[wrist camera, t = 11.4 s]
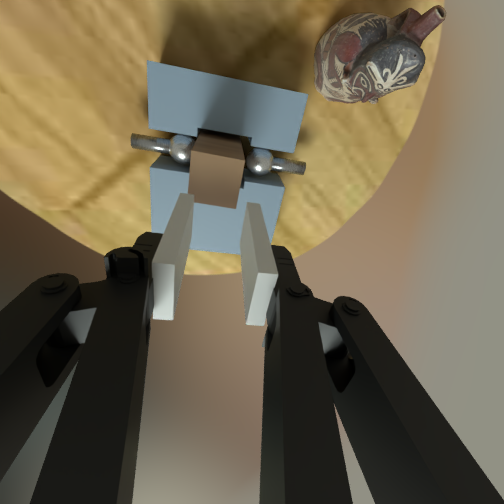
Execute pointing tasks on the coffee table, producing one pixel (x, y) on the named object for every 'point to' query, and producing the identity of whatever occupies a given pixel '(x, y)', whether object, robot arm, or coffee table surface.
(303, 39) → the coffee table surface
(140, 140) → the plunger
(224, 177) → the peg
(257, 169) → the plunger
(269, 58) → the coffee table surface
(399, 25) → the figurine
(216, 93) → the socket board
